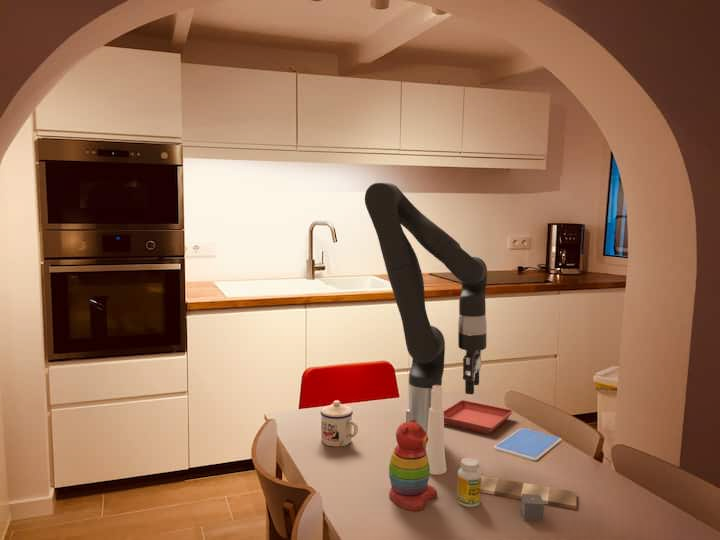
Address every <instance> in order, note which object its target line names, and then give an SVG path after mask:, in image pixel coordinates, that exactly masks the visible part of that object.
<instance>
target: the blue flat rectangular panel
mask: <svg viewBox="0 0 720 540" xmlns="http://www.w3.org/2000/svg"><path fill="white" fill-rule="evenodd" d="M560 442H562V438H561V437H559V436H556V435H552V434H547V433H544V432H540V431H536V430H532V429H528V428H526V427H525V428H524V427H522V428H519V429H518V430H516V431H515V432H514V433H512V434H511V435H509V436H508V437H506V438H505V439H503V440H501V441H500V442H498V443H497V444H495V445H494V447H493V449H494V450H496V451H498V452H502V453H505V454H508V455H511V456H515V457H519V458H522V459H526V460H530V461H534V462H535V461H538V460H539V459H540V458H542V456H544V455H545V454H546V453H548V452H549V451H550V450H551V449H553V447H555V446H557V445H558V444H559V443H560Z"/></svg>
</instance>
